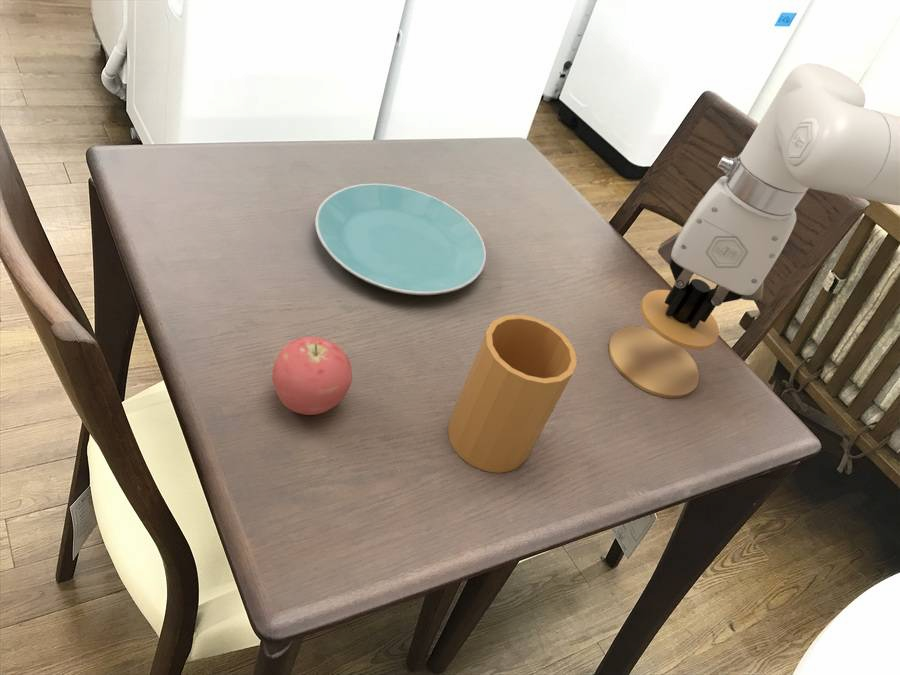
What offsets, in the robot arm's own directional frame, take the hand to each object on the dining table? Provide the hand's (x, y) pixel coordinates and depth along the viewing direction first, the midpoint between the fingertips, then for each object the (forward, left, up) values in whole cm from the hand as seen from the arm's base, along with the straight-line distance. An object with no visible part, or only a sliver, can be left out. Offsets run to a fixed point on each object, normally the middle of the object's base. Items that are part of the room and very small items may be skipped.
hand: (682, 314), depth 91 cm
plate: (+32, +15, -8) cm, 36 cm away
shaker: (+4, +28, -8) cm, 30 cm away
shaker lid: (0, 0, -1) cm, 1 cm away
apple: (+18, +41, -8) cm, 46 cm away
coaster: (0, 0, -8) cm, 8 cm away
